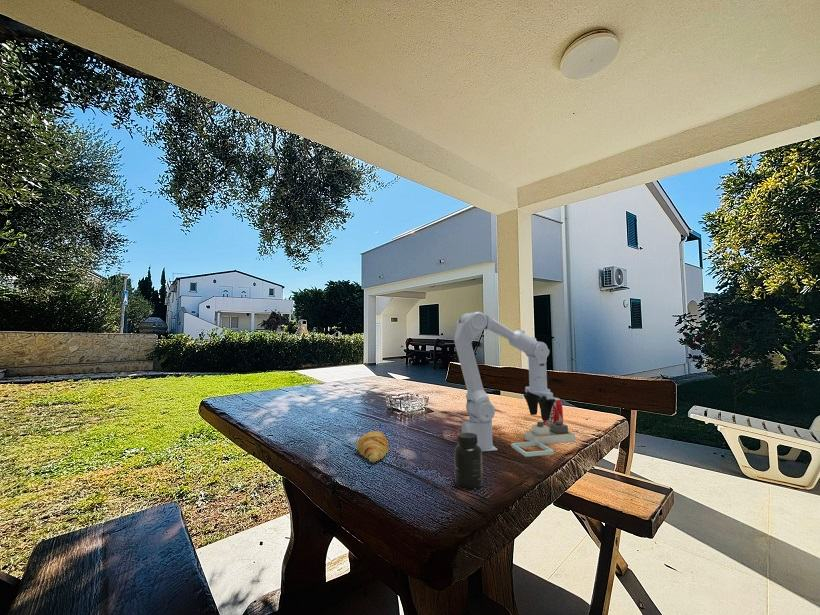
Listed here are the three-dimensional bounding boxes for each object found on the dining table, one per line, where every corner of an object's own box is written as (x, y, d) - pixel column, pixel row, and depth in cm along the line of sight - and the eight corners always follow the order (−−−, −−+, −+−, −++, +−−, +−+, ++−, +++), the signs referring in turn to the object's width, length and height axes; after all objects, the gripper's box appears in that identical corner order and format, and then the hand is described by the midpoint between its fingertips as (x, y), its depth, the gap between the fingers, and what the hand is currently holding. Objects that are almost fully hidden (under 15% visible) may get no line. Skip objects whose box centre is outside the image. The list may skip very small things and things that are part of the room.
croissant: (384, 477, 103) (396, 451, 104) (353, 462, 102) (366, 436, 103) (379, 451, 124) (389, 430, 125) (353, 439, 123) (364, 417, 124)
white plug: (538, 442, 118) (537, 424, 119) (532, 439, 122) (531, 421, 123) (549, 442, 119) (548, 423, 119) (543, 438, 123) (542, 420, 123)
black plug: (557, 441, 119) (556, 423, 120) (550, 437, 123) (550, 420, 124) (568, 440, 120) (567, 422, 120) (561, 437, 124) (560, 419, 124)
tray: (525, 458, 106) (525, 452, 106) (511, 448, 115) (511, 443, 115) (554, 455, 107) (553, 450, 107) (537, 446, 116) (537, 441, 116)
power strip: (535, 446, 116) (534, 436, 116) (524, 440, 123) (524, 430, 123) (575, 442, 119) (574, 433, 119) (562, 436, 126) (562, 427, 126)
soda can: (566, 433, 130) (565, 400, 130) (547, 433, 130) (545, 400, 131) (559, 428, 137) (557, 396, 137) (540, 428, 137) (539, 396, 138)
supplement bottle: (449, 484, 89) (448, 435, 90) (466, 476, 94) (464, 429, 94) (472, 493, 84) (470, 440, 85) (488, 483, 89) (486, 434, 90)
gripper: (561, 378, 115) (562, 421, 115) (537, 373, 130) (539, 411, 129) (540, 379, 114) (542, 423, 113) (519, 374, 128) (520, 412, 128)
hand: (539, 417), depth 121 cm, fingers open, 7 cm apart
